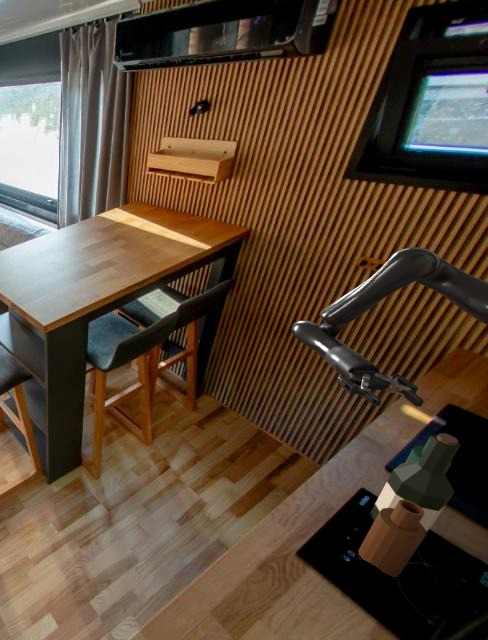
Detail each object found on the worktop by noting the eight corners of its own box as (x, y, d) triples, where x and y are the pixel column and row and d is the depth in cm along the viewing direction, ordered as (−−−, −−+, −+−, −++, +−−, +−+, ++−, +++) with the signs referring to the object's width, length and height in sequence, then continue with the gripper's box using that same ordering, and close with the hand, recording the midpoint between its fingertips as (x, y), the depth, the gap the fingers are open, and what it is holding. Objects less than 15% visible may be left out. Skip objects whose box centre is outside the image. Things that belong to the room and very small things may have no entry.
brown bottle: (388, 552, 81) (421, 497, 73) (406, 582, 76) (444, 526, 68) (352, 544, 83) (381, 489, 75) (367, 573, 79) (400, 518, 70)
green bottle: (419, 483, 92) (448, 434, 85) (435, 503, 88) (467, 453, 80) (389, 477, 95) (414, 429, 87) (403, 497, 90) (431, 448, 83)
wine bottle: (369, 527, 86) (416, 441, 73) (369, 501, 91) (414, 415, 78) (425, 553, 80) (487, 463, 67) (422, 523, 85) (480, 434, 72)
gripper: (324, 354, 107) (369, 392, 93) (383, 353, 104) (440, 393, 89) (318, 374, 110) (361, 413, 96) (375, 373, 107) (429, 415, 93)
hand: (399, 403), depth 93 cm, fingers open, 8 cm apart
